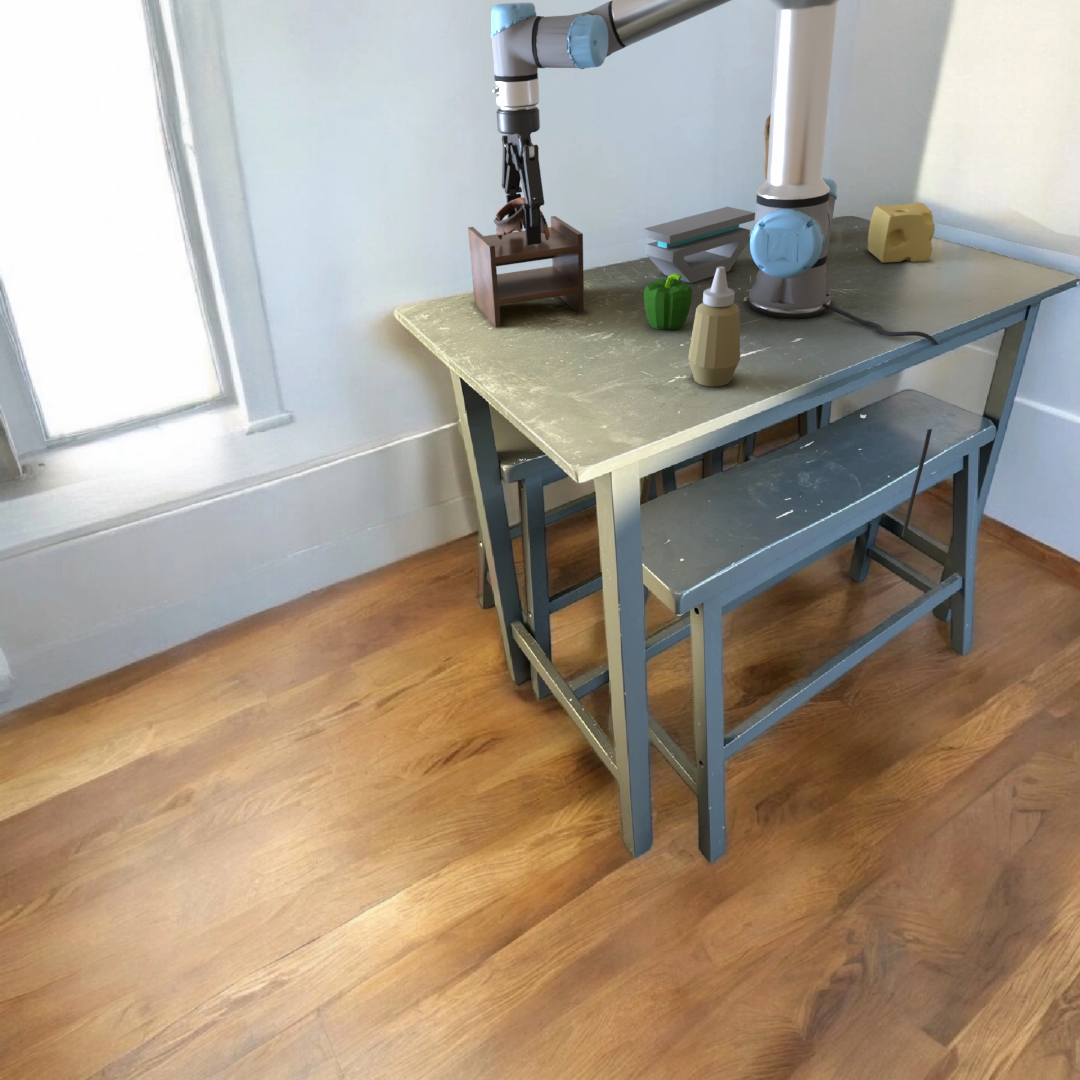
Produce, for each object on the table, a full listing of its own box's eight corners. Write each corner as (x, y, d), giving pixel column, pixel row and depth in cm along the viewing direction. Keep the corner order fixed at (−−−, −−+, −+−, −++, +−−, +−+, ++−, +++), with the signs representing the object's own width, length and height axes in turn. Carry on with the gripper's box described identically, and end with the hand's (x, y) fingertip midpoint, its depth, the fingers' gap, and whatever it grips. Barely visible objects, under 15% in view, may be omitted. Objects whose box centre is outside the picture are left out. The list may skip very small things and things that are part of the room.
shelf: (584, 312, 166) (582, 233, 157) (495, 327, 161) (489, 246, 153) (557, 290, 177) (555, 215, 169) (474, 303, 173) (467, 227, 165)
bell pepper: (635, 323, 160) (636, 269, 154) (673, 315, 162) (676, 262, 156) (658, 337, 153) (660, 282, 148) (697, 329, 156) (700, 274, 150)
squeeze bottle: (726, 394, 132) (736, 278, 122) (678, 384, 136) (684, 271, 126) (745, 375, 138) (756, 263, 128) (698, 366, 142) (706, 257, 131)
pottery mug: (552, 246, 157) (529, 209, 152) (509, 268, 161) (485, 233, 156) (555, 214, 165) (533, 177, 160) (514, 235, 169) (492, 201, 164)
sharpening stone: (723, 257, 192) (727, 206, 186) (750, 264, 186) (755, 212, 180) (641, 281, 180) (642, 228, 174) (667, 290, 174) (670, 235, 168)
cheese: (929, 262, 182) (940, 213, 177) (879, 264, 183) (887, 215, 177) (912, 248, 191) (922, 201, 185) (864, 250, 191) (872, 203, 186)
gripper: (479, 101, 157) (488, 225, 170) (517, 117, 139) (524, 254, 152) (518, 97, 159) (524, 220, 171) (560, 113, 141) (563, 249, 153)
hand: (524, 236), depth 162 cm, fingers closed on pottery mug, 10 cm apart
